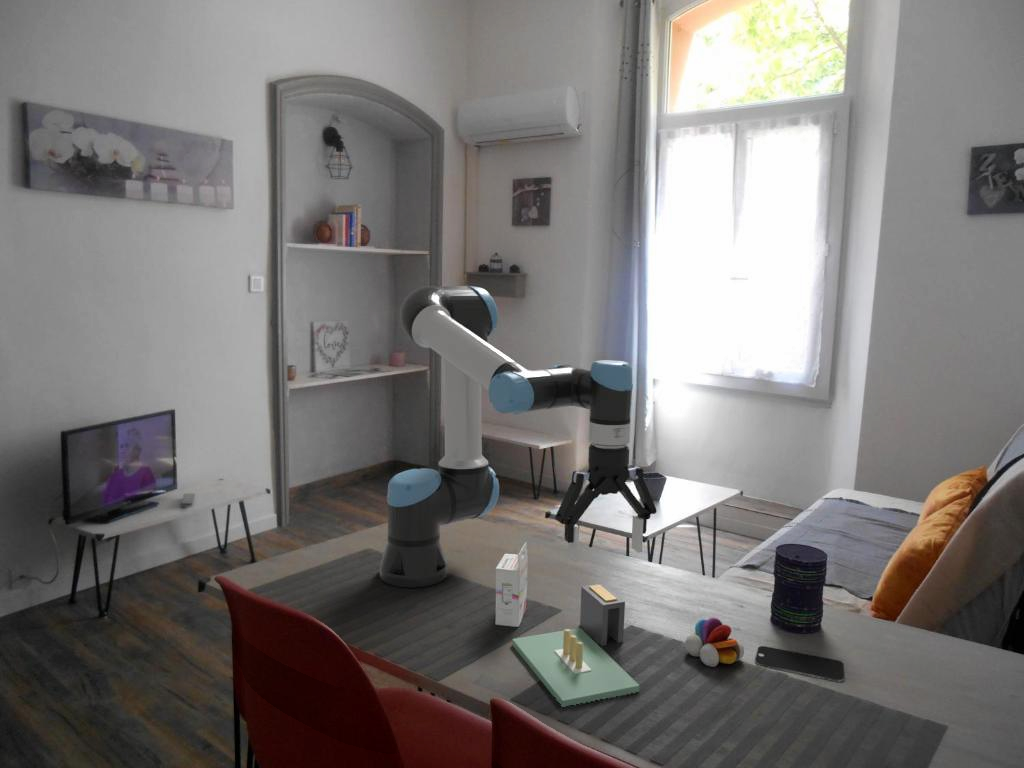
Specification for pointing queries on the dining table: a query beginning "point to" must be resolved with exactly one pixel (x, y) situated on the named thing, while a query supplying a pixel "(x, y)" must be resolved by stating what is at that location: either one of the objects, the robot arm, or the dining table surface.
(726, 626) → the rainbow wheeled toy
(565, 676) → the header board
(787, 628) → the storage jar
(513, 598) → the ink cartridge box
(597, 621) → the plug housing
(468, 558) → the dining table surface
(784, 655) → the smartphone
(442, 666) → the dining table surface
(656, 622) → the dining table surface
